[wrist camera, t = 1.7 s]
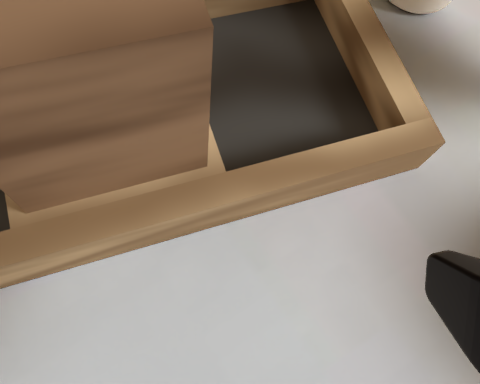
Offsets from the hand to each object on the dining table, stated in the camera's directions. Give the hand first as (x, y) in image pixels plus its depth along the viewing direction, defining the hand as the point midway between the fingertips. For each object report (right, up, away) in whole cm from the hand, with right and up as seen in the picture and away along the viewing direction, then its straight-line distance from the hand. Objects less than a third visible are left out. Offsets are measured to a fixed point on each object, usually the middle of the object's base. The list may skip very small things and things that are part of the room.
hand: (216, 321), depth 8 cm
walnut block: (-6, +7, +13) cm, 16 cm away
